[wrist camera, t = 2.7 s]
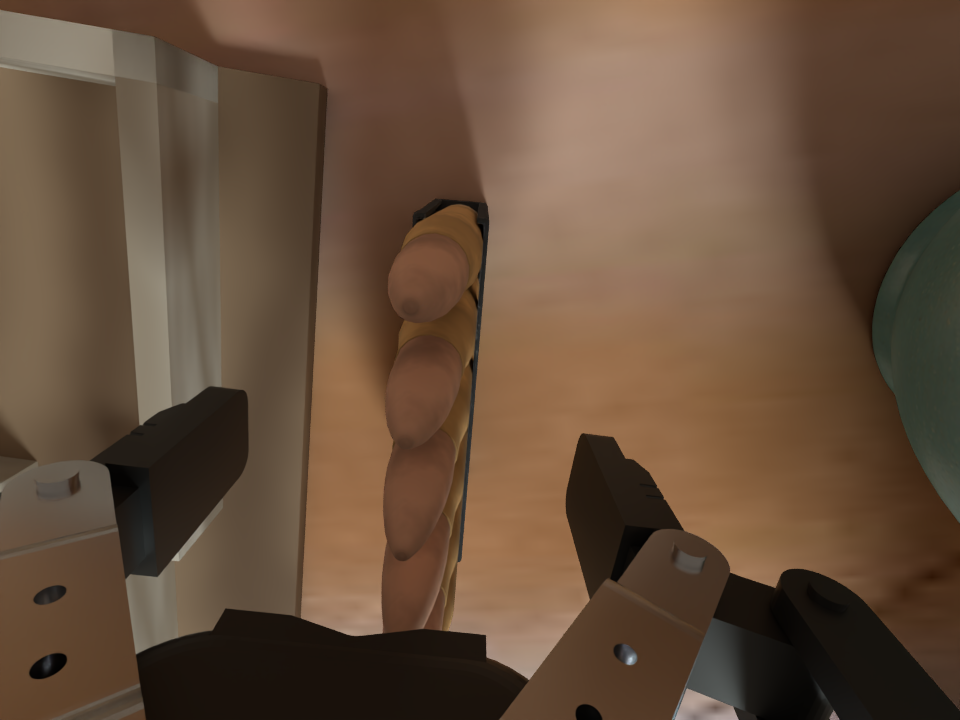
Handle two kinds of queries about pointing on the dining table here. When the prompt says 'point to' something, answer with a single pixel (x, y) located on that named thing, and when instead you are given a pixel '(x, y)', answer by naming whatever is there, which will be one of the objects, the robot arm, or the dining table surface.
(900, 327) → the flower pot
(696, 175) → the dining table surface
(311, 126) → the shallow open tray
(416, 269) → the ammunition clip
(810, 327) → the dining table surface
